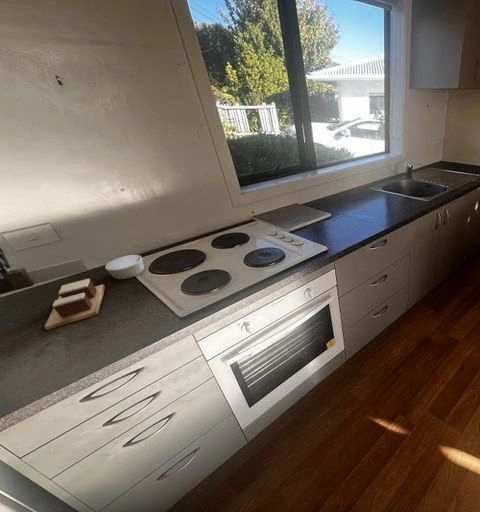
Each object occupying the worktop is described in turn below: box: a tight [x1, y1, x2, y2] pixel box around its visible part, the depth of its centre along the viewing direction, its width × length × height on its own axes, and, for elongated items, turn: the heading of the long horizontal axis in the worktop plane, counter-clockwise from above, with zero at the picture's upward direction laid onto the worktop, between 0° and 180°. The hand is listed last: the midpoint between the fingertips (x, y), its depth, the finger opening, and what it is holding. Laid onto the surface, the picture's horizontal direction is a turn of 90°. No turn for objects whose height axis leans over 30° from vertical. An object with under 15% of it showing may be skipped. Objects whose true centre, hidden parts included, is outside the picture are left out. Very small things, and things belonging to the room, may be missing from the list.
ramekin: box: [104, 254, 145, 280], centre depth 113 cm, size 11×11×5 cm
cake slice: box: [51, 293, 92, 318], centre depth 92 cm, size 7×3×5 cm, turn 124°
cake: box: [58, 278, 97, 299], centre depth 98 cm, size 7×5×5 cm
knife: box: [0, 258, 89, 295], centre depth 83 cm, size 21×3×5 cm, turn 125°
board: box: [44, 284, 106, 331], centre depth 97 cm, size 12×18×1 cm, turn 34°
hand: (9, 288), depth 81 cm, fingers closed on knife, 2 cm apart
